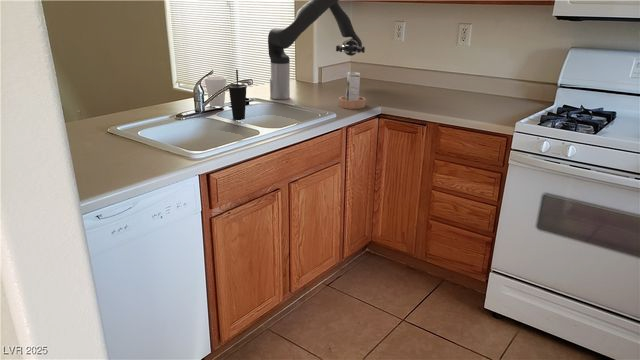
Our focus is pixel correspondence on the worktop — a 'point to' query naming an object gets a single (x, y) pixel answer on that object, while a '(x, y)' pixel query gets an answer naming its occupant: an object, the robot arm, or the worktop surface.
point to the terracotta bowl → (351, 103)
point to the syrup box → (353, 86)
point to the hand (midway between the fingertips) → (349, 50)
